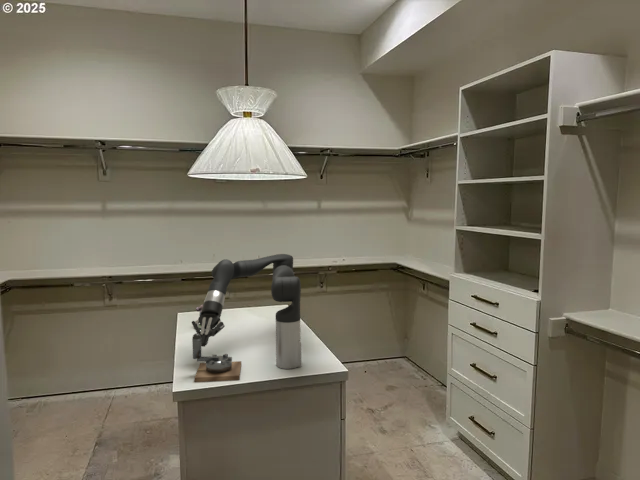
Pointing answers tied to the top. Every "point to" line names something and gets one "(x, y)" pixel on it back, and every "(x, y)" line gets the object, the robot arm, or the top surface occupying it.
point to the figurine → (200, 313)
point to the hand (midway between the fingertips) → (202, 345)
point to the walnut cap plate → (228, 375)
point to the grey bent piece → (210, 358)
